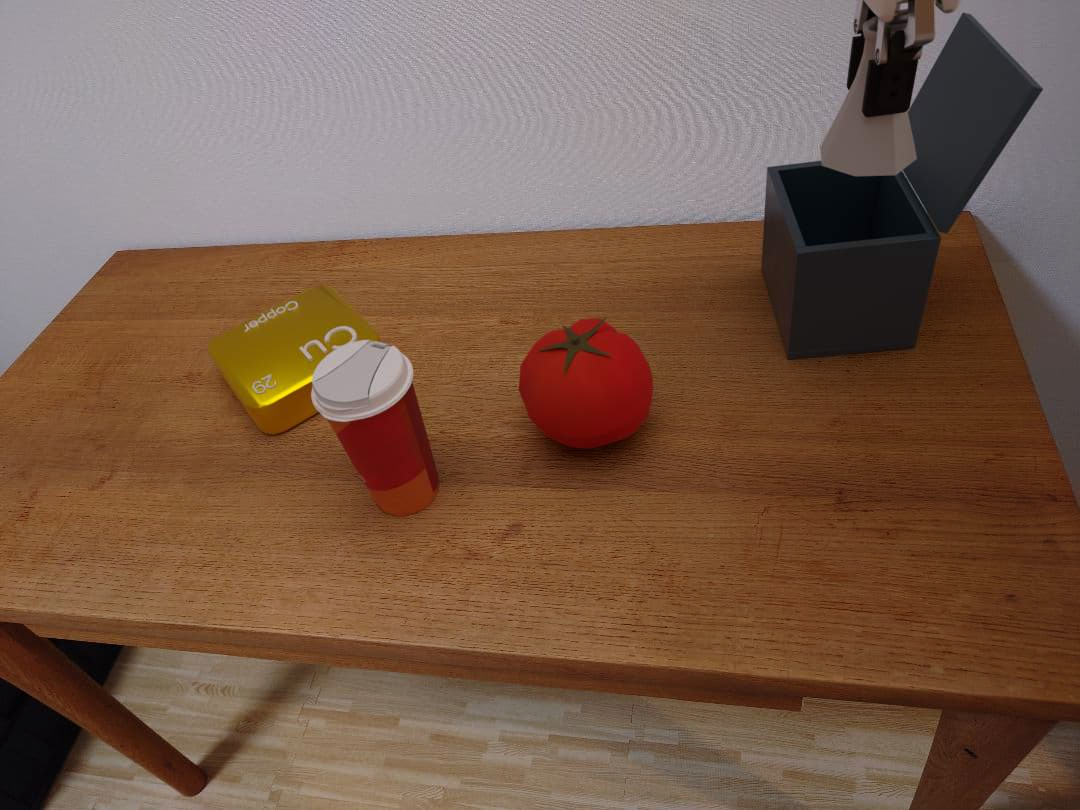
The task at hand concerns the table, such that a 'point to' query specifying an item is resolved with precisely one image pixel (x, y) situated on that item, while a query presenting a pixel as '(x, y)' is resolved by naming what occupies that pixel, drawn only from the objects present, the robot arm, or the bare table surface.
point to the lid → (965, 119)
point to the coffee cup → (378, 423)
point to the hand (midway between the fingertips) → (876, 98)
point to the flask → (868, 127)
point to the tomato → (586, 384)
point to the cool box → (845, 260)
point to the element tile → (286, 354)
